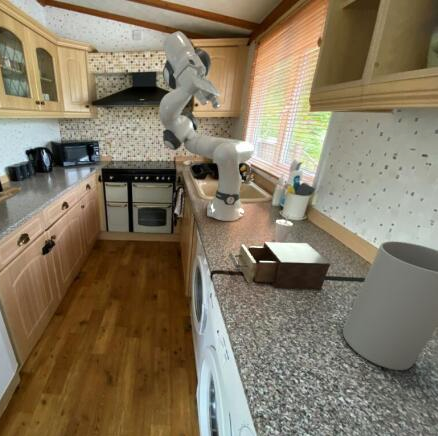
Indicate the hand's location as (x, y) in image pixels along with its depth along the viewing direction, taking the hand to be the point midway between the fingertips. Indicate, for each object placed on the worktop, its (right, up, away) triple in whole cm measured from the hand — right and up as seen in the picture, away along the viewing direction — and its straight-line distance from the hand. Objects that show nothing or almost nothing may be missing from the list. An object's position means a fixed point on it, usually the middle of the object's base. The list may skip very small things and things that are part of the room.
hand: (211, 105), depth 83 cm
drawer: (+15, -57, 0) cm, 59 cm away
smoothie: (+35, -49, +22) cm, 64 cm away
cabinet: (+26, -58, 0) cm, 64 cm away
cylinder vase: (+32, -69, -25) cm, 80 cm away
